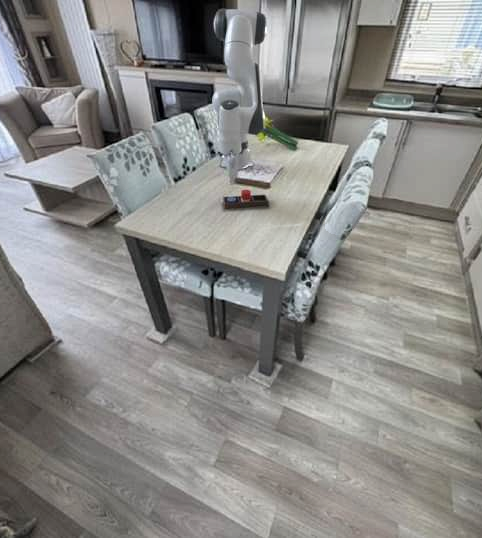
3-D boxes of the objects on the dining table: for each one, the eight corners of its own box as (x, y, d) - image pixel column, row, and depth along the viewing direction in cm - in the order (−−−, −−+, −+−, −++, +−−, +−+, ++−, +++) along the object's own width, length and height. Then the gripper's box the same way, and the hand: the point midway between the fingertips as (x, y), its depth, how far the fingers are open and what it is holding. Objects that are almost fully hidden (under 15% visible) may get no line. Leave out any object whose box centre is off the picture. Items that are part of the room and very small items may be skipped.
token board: (223, 203, 137) (223, 196, 135) (265, 200, 140) (265, 194, 138) (224, 210, 132) (224, 203, 130) (268, 207, 134) (268, 201, 132)
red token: (240, 196, 134) (240, 189, 133) (249, 195, 135) (249, 189, 133) (242, 200, 131) (242, 193, 129) (251, 199, 132) (251, 193, 130)
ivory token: (240, 202, 136) (240, 196, 135) (249, 201, 137) (249, 195, 135) (241, 206, 133) (241, 200, 131) (250, 205, 134) (251, 199, 132)
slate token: (226, 203, 136) (226, 197, 134) (235, 202, 136) (235, 196, 134) (227, 207, 133) (227, 201, 131) (236, 207, 133) (236, 200, 131)
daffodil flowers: (288, 154, 193) (244, 131, 200) (292, 160, 207) (250, 138, 214) (302, 129, 189) (256, 107, 196) (305, 137, 203) (262, 115, 210)
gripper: (241, 155, 113) (241, 189, 122) (235, 139, 129) (235, 170, 138) (225, 156, 112) (226, 190, 121) (220, 139, 128) (221, 170, 137)
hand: (230, 179), depth 130 cm, fingers open, 8 cm apart
